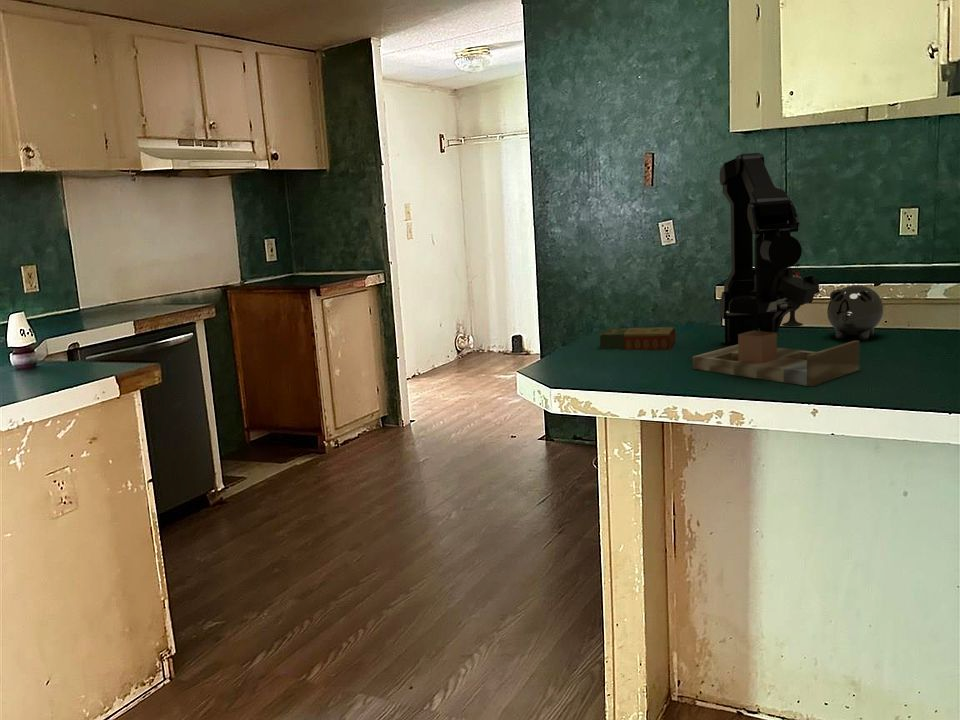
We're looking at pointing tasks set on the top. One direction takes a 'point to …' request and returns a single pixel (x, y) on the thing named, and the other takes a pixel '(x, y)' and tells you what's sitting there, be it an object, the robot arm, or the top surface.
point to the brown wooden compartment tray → (786, 364)
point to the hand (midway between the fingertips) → (770, 344)
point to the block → (757, 346)
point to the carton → (638, 338)
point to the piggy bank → (854, 311)
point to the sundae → (792, 321)
